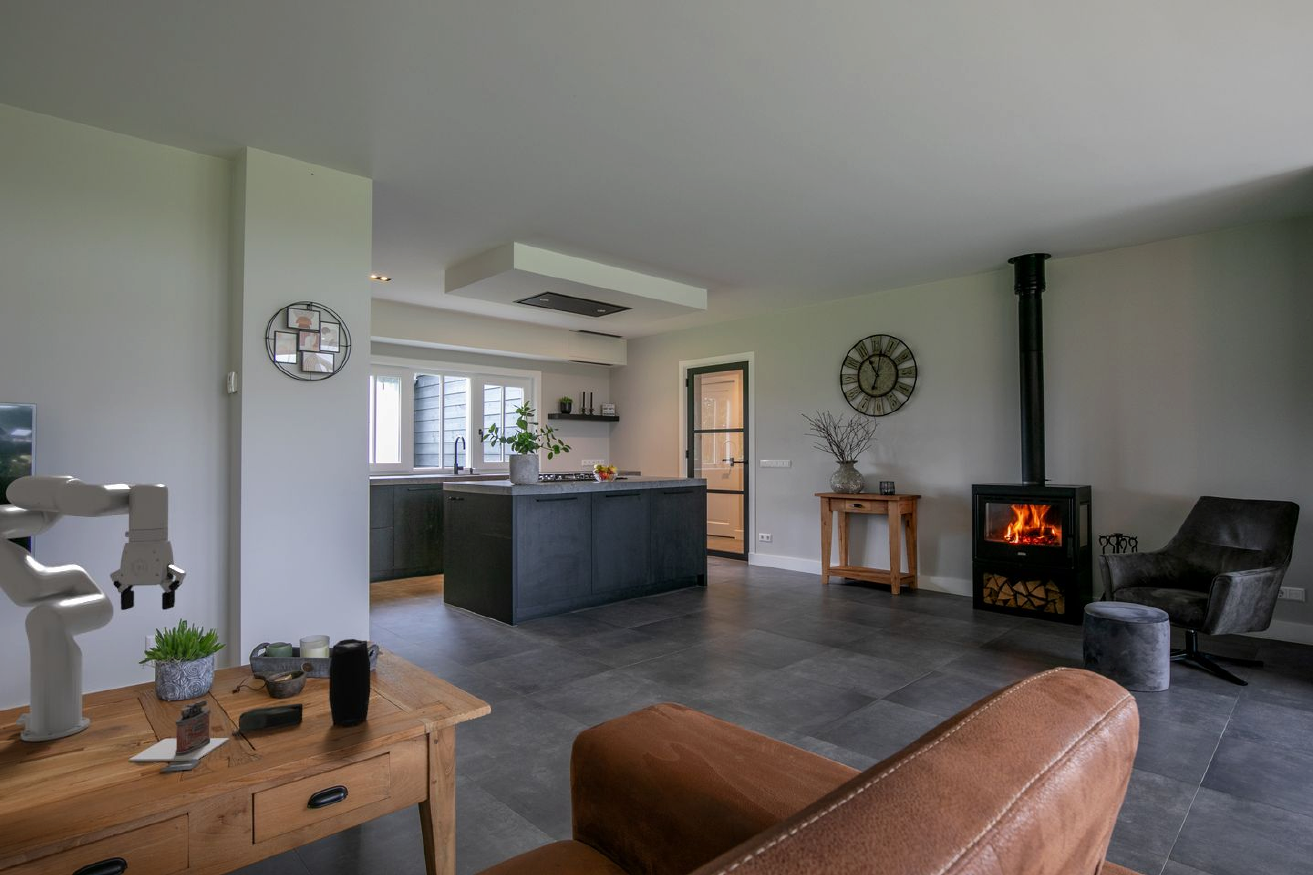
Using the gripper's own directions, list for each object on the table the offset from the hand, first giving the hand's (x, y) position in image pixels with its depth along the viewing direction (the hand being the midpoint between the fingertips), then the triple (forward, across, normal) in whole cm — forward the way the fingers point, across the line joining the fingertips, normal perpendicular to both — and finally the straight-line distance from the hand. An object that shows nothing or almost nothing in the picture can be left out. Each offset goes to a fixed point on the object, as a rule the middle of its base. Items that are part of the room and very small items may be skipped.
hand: (147, 608), depth 163 cm
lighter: (+30, +16, -7) cm, 35 cm away
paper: (+30, +13, -7) cm, 34 cm away
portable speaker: (+31, +44, +9) cm, 54 cm away
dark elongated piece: (+31, +26, +6) cm, 40 cm away
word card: (+30, +19, -16) cm, 39 cm away
